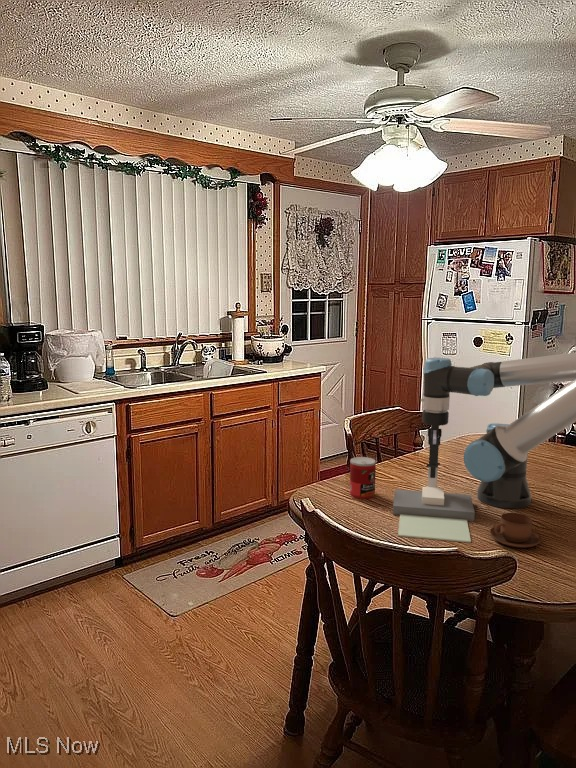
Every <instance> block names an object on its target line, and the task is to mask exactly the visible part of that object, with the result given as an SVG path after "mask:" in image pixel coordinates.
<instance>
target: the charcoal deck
mask: <svg viewBox="0 0 576 768" xmlns="http://www.w3.org/2000/svg"><path fill="white" fill-rule="evenodd" d="M472 499H473V498H472V495H471V494H463V493H449V492H444V505H432V504H422V490H408V489H407V490H406V489H398V488H396V489H394V496H393V504H392V515H395V516H396V515H397V516H400V514H404V515H416V516H428V517H440V518H452V519H464V520H467V522H468V521H469V522H475V516H476V515H475V514H476V512H475V508H474V504H473V503H474V502H473V500H472Z"/></svg>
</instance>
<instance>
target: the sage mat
mask: <svg viewBox="0 0 576 768" xmlns="http://www.w3.org/2000/svg"><path fill="white" fill-rule="evenodd" d="M397 537H403V538H404V537H405V538H406V537H407V538H416V539H426V540H438V541H449V542H458V543H459V542H460V543H472V540H471V534H470V530H469V525H468V521H467V520H464V519H452V518H440V517H428V516H416V515H404V514H400V515H399V521H398V531H397Z"/></svg>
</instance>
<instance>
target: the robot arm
mask: <svg viewBox="0 0 576 768" xmlns="http://www.w3.org/2000/svg"><path fill="white" fill-rule="evenodd" d="M423 369H424V370H423V394H422V395H423V396H422V397H423V398H420V401H421V402H422V409H423V410H422V412H421V413H422V415H421V416H422V417H421V422H422V423H423V424H425V425H429V426H430V427H428V428H427V437H428V442H427V444H428V445H429V455H428V456H429V457H428V463H427V464H426V467H427V468H428V469H427V470H428V471H427V487H435V488H438V474H439V473H438V469H439V466H441V462H439V448H440V447H439V446H441V437H442V432H443V431H442V428H440V426H446V425H448V423H449V411H448V410H450V399H451V397H450V393H456V394H464V395H470V396H475V397H479V396H481V397H488V396H490V394H491V392H492V391H493V389H499V388H505V387H517V386H519V387H520V386H528V385H542V384H552V383H561V382H562V383H563V382H569V383H568V384H566V385H565V386H563V387H561V388H560V389H558V390H557V391H556V392H554V393H553V394H552V395H550V396H549V397H548V398H546V399H544V400H543V401H541V402H540V403H539V404H537V405H536V406H534V407H533V408H532V409H530V410H528V411H527V412H526V413H524V414H523V415H521V416H520V417H518V418H517V419H515V420H514V421H512V422H511V423H510V424H507V423H499V422H497V423H495V422H494V423H493V422H492V423H489V424H488V425H487V426H486V431H485V432H486V433H485V434H484V435H482V436H481V437H479V438H478V439H475V440H472V441H471V442H470V443H469V444H468V445H467V446H466V448H465V449H464V453H463V464H464V466H465V468H466V469H465V470H467V472H468V473H469V474H470V475H471V476H472V478H473V477H474V479H476V480H478V481H480V483H479V485H478V488H477V493H476V494H477V495H476V496H477V497H476V498H477V499H478V500H479V501H480V502H482V503H483V504H486V505H489V506H492V507H496V508H502V509H503V508H504V509H521V508H526V507H529V506H530V505H531V503H532V501H531V500H532V494H531V490H530V486H529V483H528V480H527V468H528V465H527V464H528V456H529V455H528V453H530V451H531V450H532V451H533V450H534V449H535V448H537V447H538V446H539V445H541V444H543V443H545V442H546V441H548V440H549V439H551V438H552V437H554V436H555V435H557V434H559V433H560V432H562V431H563V430H566V429H567V428H568V427H569V426H571V425H573V424H574V423H575V422H576V352H569V353H561V354H552V355H545V356H534V357H530V358H529V357H528V358H521V359H520V358H519V359H518V358H517V359H511V360H510V359H509V360H504V361H490V362H489V361H488V362H484V363H482V364H479V365H474V366H471V367H463V366H453V365H452V360H451V359H450V358H446V357H429V358H426V360H425V361H424V368H423Z"/></svg>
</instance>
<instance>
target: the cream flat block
mask: <svg viewBox="0 0 576 768" xmlns="http://www.w3.org/2000/svg"><path fill="white" fill-rule="evenodd" d="M421 489H422V490H421V491H422V504H432V505H444V493H445V491H444V488H443V487H437V488H435V487H428V486H422V488H421Z"/></svg>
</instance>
